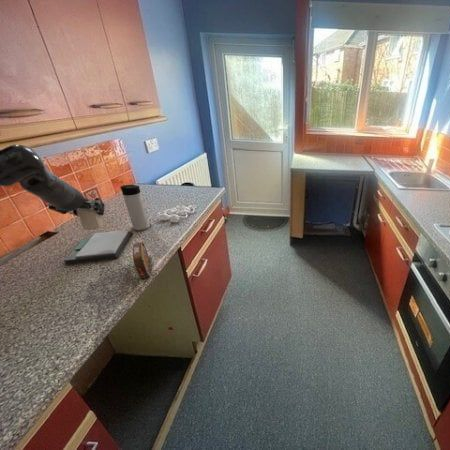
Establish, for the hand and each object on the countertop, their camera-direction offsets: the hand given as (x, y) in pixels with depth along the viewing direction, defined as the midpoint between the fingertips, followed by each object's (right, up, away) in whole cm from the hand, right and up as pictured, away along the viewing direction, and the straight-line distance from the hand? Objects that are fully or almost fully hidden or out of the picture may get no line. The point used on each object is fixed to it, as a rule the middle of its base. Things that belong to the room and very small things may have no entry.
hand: (91, 213), depth 89 cm
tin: (+22, -19, -4) cm, 29 cm away
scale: (0, -13, +5) cm, 14 cm away
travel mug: (+6, -6, +20) cm, 21 cm away
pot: (0, -5, +1) cm, 5 cm away
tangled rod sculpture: (+15, 0, +33) cm, 36 cm away
